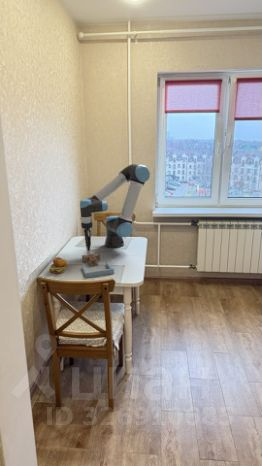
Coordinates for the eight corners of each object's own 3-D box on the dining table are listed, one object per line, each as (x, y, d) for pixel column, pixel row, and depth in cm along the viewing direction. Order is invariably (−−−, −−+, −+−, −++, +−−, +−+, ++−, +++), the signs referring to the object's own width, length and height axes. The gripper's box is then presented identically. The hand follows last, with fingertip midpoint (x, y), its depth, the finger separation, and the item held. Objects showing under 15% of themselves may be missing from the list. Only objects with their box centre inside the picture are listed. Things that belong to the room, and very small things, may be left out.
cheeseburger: (50, 268, 210) (52, 254, 208) (66, 271, 212) (69, 257, 209) (47, 274, 200) (50, 259, 198) (64, 277, 202) (67, 262, 200)
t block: (99, 258, 225) (98, 253, 224) (103, 264, 214) (103, 258, 213) (82, 261, 222) (81, 255, 221) (85, 267, 211) (85, 261, 210)
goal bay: (108, 264, 213) (107, 260, 213) (114, 273, 200) (113, 268, 199) (81, 268, 208) (81, 264, 207) (86, 277, 194) (86, 273, 194)
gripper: (79, 220, 227) (81, 252, 234) (82, 224, 215) (85, 257, 222) (90, 219, 229) (92, 250, 236) (93, 223, 217) (95, 256, 224)
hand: (88, 254), depth 229 cm, fingers closed
